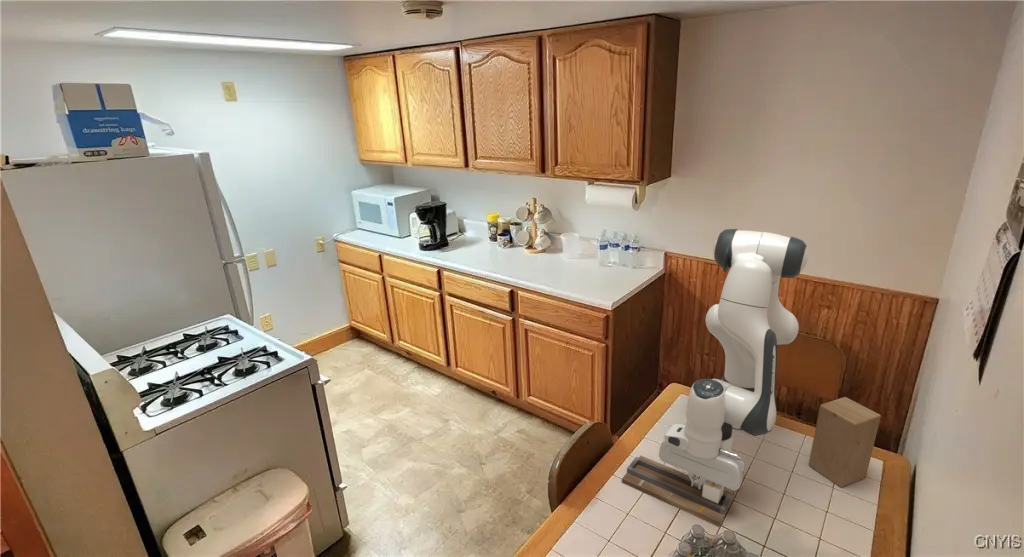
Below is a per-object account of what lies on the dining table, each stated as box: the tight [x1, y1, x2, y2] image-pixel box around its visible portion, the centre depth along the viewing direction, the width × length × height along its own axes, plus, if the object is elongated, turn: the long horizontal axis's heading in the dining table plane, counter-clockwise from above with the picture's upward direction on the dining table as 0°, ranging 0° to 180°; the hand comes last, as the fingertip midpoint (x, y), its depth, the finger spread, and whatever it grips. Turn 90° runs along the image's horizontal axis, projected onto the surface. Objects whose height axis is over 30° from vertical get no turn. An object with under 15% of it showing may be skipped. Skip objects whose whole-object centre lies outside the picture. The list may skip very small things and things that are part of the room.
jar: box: [721, 422, 734, 453], centre depth 143 cm, size 9×8×12 cm
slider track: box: [621, 455, 735, 528], centre depth 133 cm, size 12×26×3 cm, turn 52°
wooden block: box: [808, 396, 882, 488], centre depth 135 cm, size 10×10×20 cm
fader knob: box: [702, 480, 725, 504], centre depth 127 cm, size 4×4×6 cm
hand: (696, 486), depth 129 cm, fingers closed
